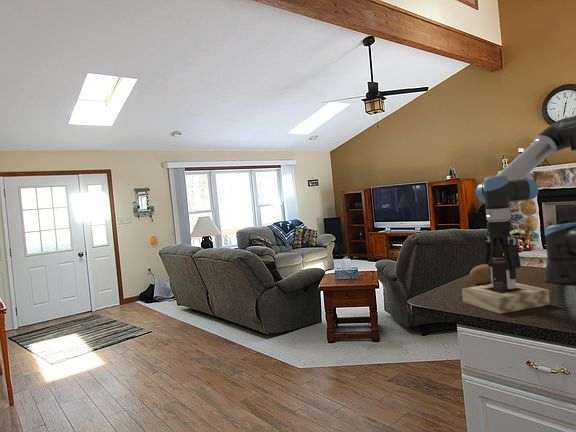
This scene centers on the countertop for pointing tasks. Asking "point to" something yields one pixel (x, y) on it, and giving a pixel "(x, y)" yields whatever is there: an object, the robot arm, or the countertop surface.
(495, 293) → the square frame
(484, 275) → the potato
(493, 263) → the box
